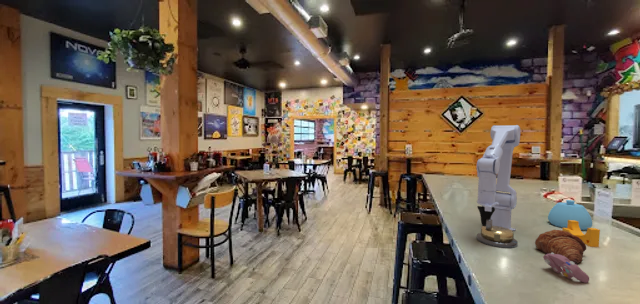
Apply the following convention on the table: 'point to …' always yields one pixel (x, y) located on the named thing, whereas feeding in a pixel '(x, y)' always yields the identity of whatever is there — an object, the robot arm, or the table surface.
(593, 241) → the pipe clamp
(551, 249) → the pastry
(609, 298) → the table surface
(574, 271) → the video game controller
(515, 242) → the base plate
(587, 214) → the sugar bowl
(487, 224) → the round lid with handle
